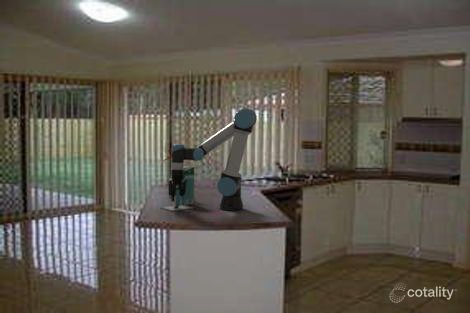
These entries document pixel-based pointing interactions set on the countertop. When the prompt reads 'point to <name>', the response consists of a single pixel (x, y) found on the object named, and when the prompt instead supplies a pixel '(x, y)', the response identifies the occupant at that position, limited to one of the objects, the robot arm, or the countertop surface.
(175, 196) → the teal and grey cylinder
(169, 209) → the writing board
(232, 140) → the robot arm
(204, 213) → the countertop surface
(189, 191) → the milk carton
